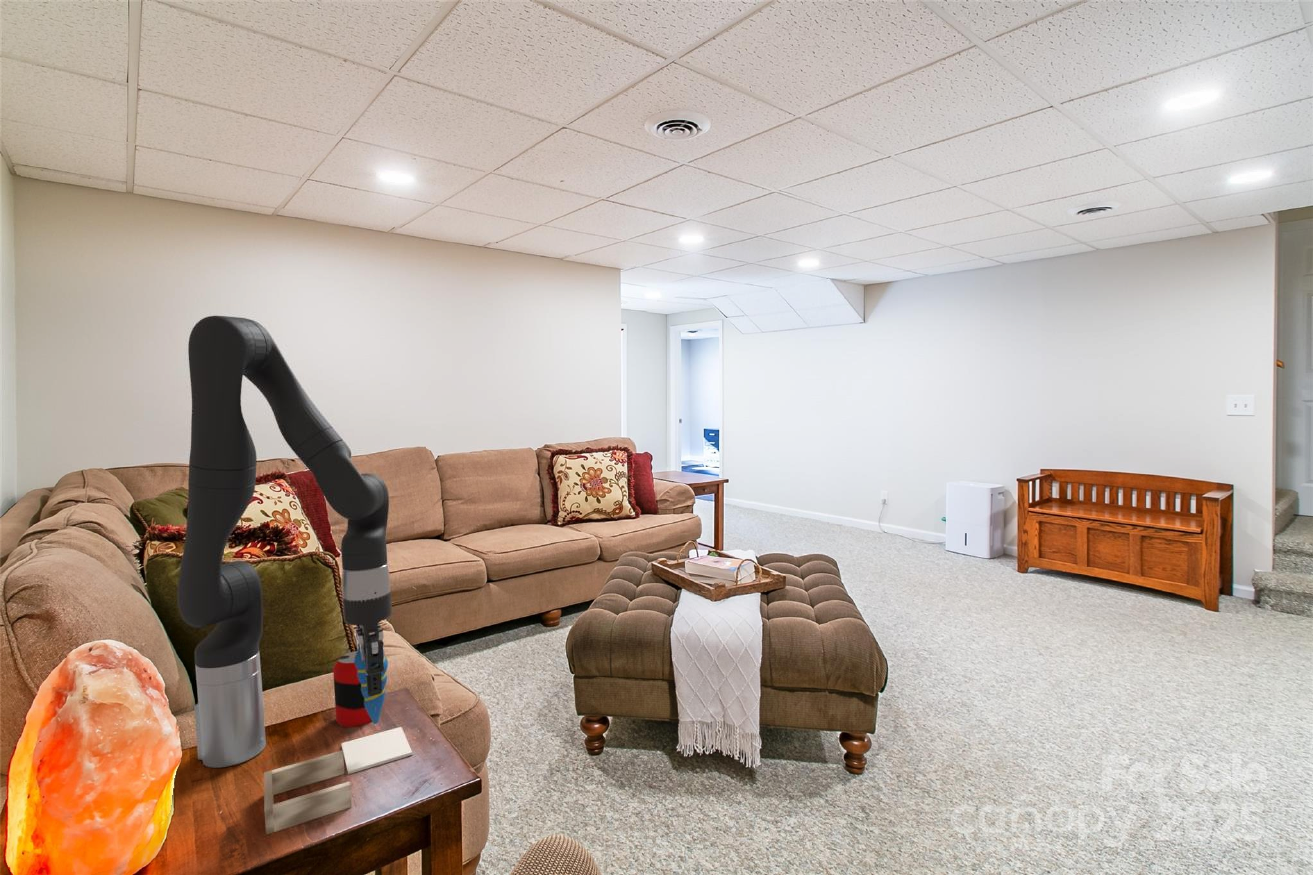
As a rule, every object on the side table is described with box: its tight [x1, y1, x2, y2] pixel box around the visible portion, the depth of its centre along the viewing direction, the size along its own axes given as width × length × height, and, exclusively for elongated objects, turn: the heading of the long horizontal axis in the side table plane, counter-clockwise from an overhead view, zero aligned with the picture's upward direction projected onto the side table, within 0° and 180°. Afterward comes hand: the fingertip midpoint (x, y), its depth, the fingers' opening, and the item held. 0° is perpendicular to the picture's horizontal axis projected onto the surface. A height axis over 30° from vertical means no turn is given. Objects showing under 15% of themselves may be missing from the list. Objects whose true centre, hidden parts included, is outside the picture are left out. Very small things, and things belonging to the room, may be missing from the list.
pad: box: [341, 726, 413, 775], centre depth 111 cm, size 10×10×1 cm
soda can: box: [332, 650, 372, 728], centre depth 123 cm, size 8×8×12 cm
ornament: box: [354, 649, 389, 725], centre depth 110 cm, size 5×5×15 cm
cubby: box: [263, 750, 352, 835], centre depth 98 cm, size 11×11×4 cm
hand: (372, 687), depth 111 cm, fingers closed on ornament, 5 cm apart
